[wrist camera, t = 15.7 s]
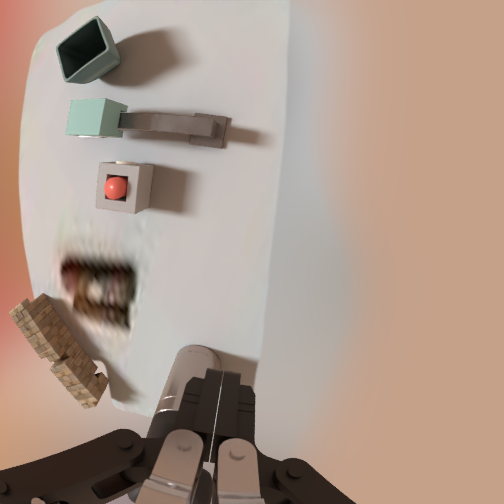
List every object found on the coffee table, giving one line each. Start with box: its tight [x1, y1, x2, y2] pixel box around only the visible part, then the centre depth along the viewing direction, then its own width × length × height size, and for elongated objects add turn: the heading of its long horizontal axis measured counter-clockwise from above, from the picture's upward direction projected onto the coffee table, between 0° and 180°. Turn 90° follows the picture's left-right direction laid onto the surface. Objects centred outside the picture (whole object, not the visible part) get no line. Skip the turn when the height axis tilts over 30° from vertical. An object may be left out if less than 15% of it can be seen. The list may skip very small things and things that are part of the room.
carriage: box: [66, 98, 128, 138], centre depth 33 cm, size 5×6×7 cm
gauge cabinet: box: [96, 161, 154, 214], centre depth 41 cm, size 7×7×6 cm
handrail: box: [80, 113, 227, 148], centre depth 38 cm, size 5×26×6 cm, turn 80°
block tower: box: [9, 293, 109, 409], centre depth 51 cm, size 8×8×29 cm
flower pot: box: [56, 16, 121, 84], centre depth 32 cm, size 9×9×9 cm
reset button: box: [104, 176, 128, 199], centre depth 39 cm, size 3×3×4 cm
